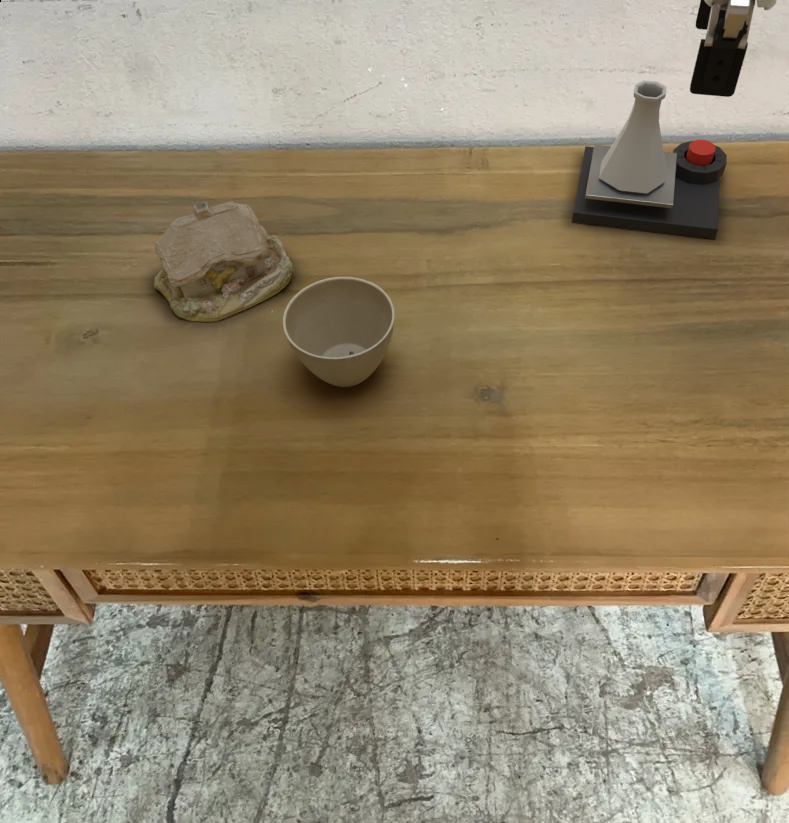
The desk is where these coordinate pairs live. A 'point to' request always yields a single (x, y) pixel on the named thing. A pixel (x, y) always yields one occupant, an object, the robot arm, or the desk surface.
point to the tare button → (700, 152)
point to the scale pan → (606, 192)
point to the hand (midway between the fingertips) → (713, 59)
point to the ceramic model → (219, 262)
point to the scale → (686, 218)
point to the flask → (638, 145)
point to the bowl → (340, 328)
